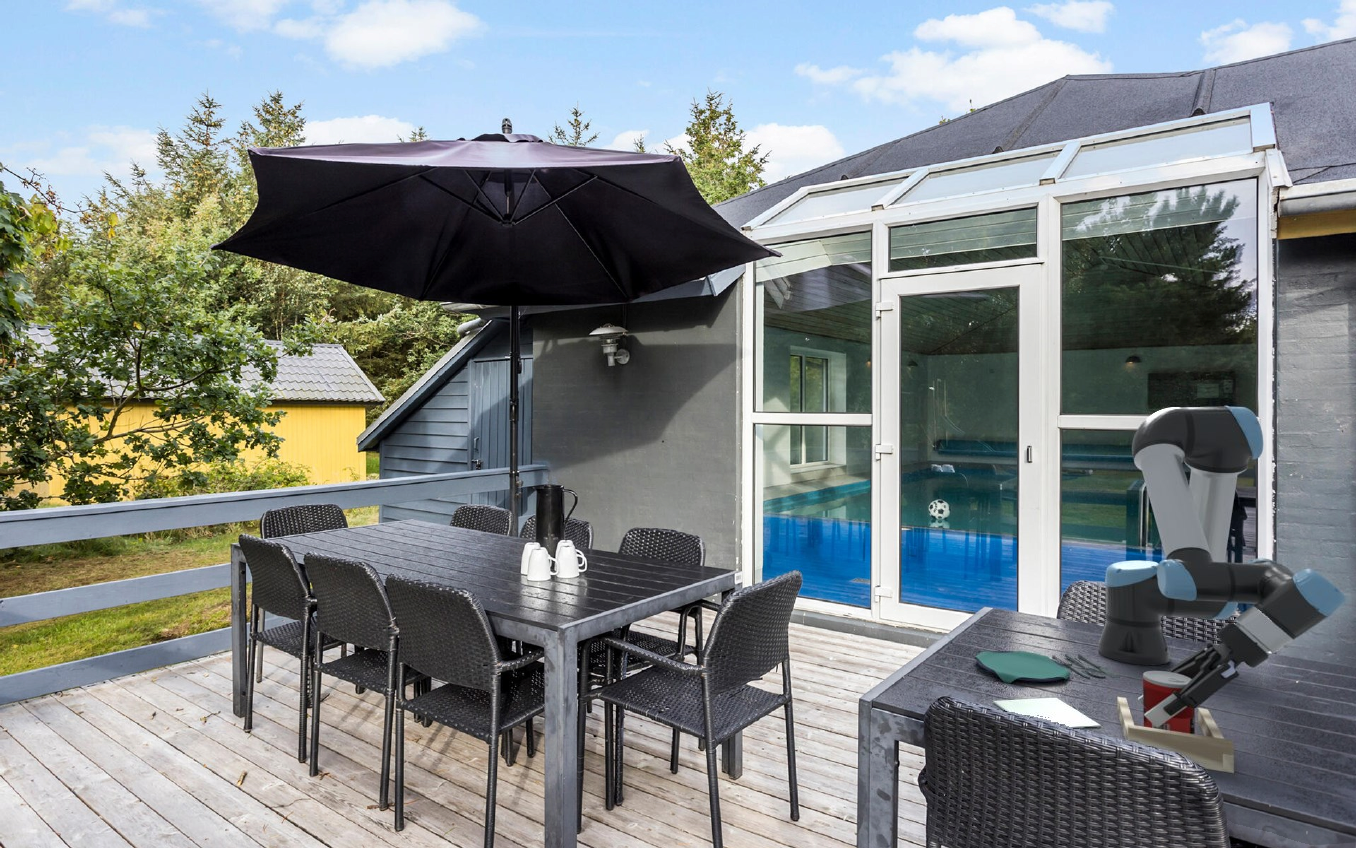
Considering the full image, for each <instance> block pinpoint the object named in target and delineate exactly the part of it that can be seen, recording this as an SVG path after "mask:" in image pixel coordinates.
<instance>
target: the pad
mask: <svg viewBox="0 0 1356 848" xmlns="http://www.w3.org/2000/svg"><path fill="white" fill-rule="evenodd" d="M993 704H994V705H995V706H998V708H1000V709H1001V710H1002V711H1004V710H1005V711H1009V712H1015V713H1018V714H1022V715H1030V716H1034V717H1038V718H1043V719H1047V720H1051V722H1058V723H1059V724H1065V725H1066V726H1069V727H1077V728H1079V729H1085V728H1084V727H1097V728H1101V724H1099V723H1098V722H1096V721H1094V720H1093V719H1091V718H1090V717H1088V716H1087V715H1084V713H1081V712H1080V711H1079V710H1077V709H1075V708H1074V707H1072V706H1070V705H1069V704H1068V703H1065V701H1063V700H1060V699H1059V698H1057V697H1045V698H1044V697H1043V698H1042V697H1041V698H1025V699H1021V698H1020V699H1004V700H1003V699H1002V700H993ZM1005 711H1004V712H1005ZM1037 715H1039V716H1037ZM1040 716H1043V717H1040ZM1045 717H1046V718H1045ZM1048 717H1049V718H1048Z"/></svg>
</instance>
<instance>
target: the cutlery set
mask: <svg viewBox="0 0 1356 848" xmlns="http://www.w3.org/2000/svg"><path fill="white" fill-rule="evenodd" d="M1064 657H1065V658H1067V659H1069V660H1071V661H1072V662H1074V663H1076V664H1077V665H1079V666H1081V667H1082V668H1084V670H1085V671H1084V672H1086V673H1087V674H1086V673H1084V672H1083V671H1081V670H1080V669H1078V668H1076V667H1074V666H1073V663H1070V662H1067V661H1065V660H1063V659H1060V658H1058V657H1057V656H1056V655H1052V659H1051V658H1050V657H1049V656H1047V655H1044V654H1040V653H1035V652H1030V651H1024V650H1016V651H1015V650H1013V651H1011V650H994V651H991V650H990V651H981V652H980V653H979V654H978V653H977V655H976V656H974V659H975V661H976V663H977V664H978V666H979V667H980V668H982V669H983V670H985V671H988V672H989V673H992V674H995V675H997V676H998V677H999V678H1000V680H1002V681H1003V682H1004V683H1008V684H1011V683H1012V682H1014V681H1015V680H1019V681H1025V682H1040V683H1041V682H1045V683H1046V682H1055V681H1059V680H1062V681H1066V680H1067V679H1068V678H1070V676H1071V675H1072V672H1071V671H1070V670H1069V669H1071V670H1072V671H1074V672H1075V673H1076V674H1078V675H1080V676H1082V677H1084V678H1087V679H1091V676H1093V677H1097V678H1105V677H1106V675H1107V676H1109V677H1111V678H1113V679H1115V678H1118V679H1119V678H1120V676H1118V675H1117V674H1115V673H1114V672H1112V671H1111V670H1110V669H1109V668H1108V667H1105V666H1104V665H1100V664H1097V663H1095V662H1093V661H1092V660H1090V659H1089V658H1088V657H1086V655H1083V654H1082V653H1078V654H1077V657H1078V658H1079V659H1081V660H1083V661H1084V662H1086V663H1087V664H1089V665H1091V666H1093V667H1096V668H1098V669H1095V668H1092V667H1087V666H1086V665H1084V664H1083V663H1082V662H1080V661H1079V660H1078V659H1076V658H1075V657H1074V656H1071V655H1070V654H1069V653H1064ZM1054 659H1056V660H1057V661H1056V660H1054ZM1059 661H1060V662H1059ZM1062 663H1063V664H1062ZM1066 666H1067V667H1066ZM1091 672H1095V673H1097V674H1099V675H1097V674H1094V673H1091ZM1089 675H1090V676H1089ZM1100 675H1101V676H1100Z"/></svg>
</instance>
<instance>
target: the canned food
mask: <svg viewBox="0 0 1356 848" xmlns="http://www.w3.org/2000/svg"><path fill="white" fill-rule="evenodd" d="M1191 680H1192V679H1191V678H1189V677H1187V676H1184V675H1181V674H1177V673H1172V672H1167V671H1164V670H1147V671H1145V672H1143V675H1142V695H1143V704H1142V708H1143V727H1149V728H1155V729H1162V730H1169V731H1175V732H1182V733H1188V734H1195V735H1196V728H1195V723H1196V722H1195V721H1196V719H1195V715H1196V712H1195V711H1196V710H1195V709H1196V708H1195V709H1192V708H1191V707H1186V708H1185V709H1183V710H1182V711H1180V712H1179V713H1177V714H1176V715H1175V716H1173V717H1172V718H1170V719H1169V720H1167V721H1166V722H1165V723H1163V724H1162V725H1160V726H1159V727H1156V726H1155V725H1154V724H1153V723H1152V722H1151V721H1150V720H1148V719H1147V718H1146V717H1145V715H1144V714H1145V713H1146V712H1148V711H1149V710H1151V709H1152V708H1153V707H1155V706H1156V705H1158V704H1159V703H1160V702H1162V701H1163V700H1165V699H1166V698H1167V697H1169V696H1170V695H1172V694H1173V693H1172V692H1173V691H1177V692H1179V691H1180V690H1181V689H1183V688H1184V687H1185V686H1186V685H1187V684H1188V683H1189V682H1190V681H1191Z"/></svg>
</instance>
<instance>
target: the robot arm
mask: <svg viewBox="0 0 1356 848" xmlns="http://www.w3.org/2000/svg"><path fill="white" fill-rule="evenodd" d="M1263 450H1264V435H1263V430H1262V426H1261V424H1260V421H1259V419H1258V417H1257V415H1255V413H1254V412H1253V411H1252V410H1251V409H1249V408H1247V407H1244V406H1228V405H1224V406H1200V407H1198V406H1197V407H1195V406H1194V407H1193V406H1192V407H1180V406H1179V407H1174V406H1173V407H1167V408H1163V409H1161V410H1158V411H1156V412H1154V413H1152V414H1151V415H1149V416H1148V417H1147V418H1146V419H1145V420H1143V422H1142V423H1141V424H1140V425H1139V427H1138V429H1137V430H1136V432H1135V433H1134V436H1133V439H1132V444H1131V454H1132V458H1133V462H1134V465H1135V466H1136V467H1137V469H1139V470H1140V471H1141V472H1142V475H1143V479H1144V483H1145V487H1146V490H1147V494H1148V497H1149V500H1150V501H1149V502H1150V504H1151V508H1152V512H1153V515H1154V519H1155V523H1156V526H1157V530H1158V533H1159V539H1160V542H1161V545H1162V548H1163V552H1164V556H1165V559H1163V560H1161V561H1159V563H1158V562H1156V561H1152V560H1124V561H1118V562H1114V563H1112V564H1109V566H1107V568H1106V571H1105V579H1104V586H1105V624H1104V626H1103V629H1102V631H1101V636H1100V639H1099V640H1098V646H1097V647H1098V653H1099V654H1101V656H1103V657H1106V658H1109V659H1111V660H1115V661H1118V662H1120V663H1121V662H1122V663H1127V664H1133V665H1140V664H1143V665H1142V666H1160V665H1161V664H1162V665H1166V664H1169V662H1170V661H1171V659H1170V658H1171V655H1170V654H1171V653H1170V649H1169V648H1168V644H1167V641H1166V639H1165V636H1164V633H1163V631H1162V626H1161V625H1162V623H1161V622H1162V617H1175V618H1186V619H1187V618H1188V619H1190V618H1191V619H1203V620H1206V621H1209V620H1225V619H1228V618H1230V617H1232V616H1233V614H1234V613H1235V612H1236V610H1237V608H1238V605H1239V604H1250V605H1251V604H1252V606H1250V607H1249V608H1247V610H1245V611H1243V612H1242V613H1241V614H1239V615H1238V616H1237V617H1235V619H1234V620H1235V623H1234V622H1229V623H1228V624H1226V625H1225V626H1224V627H1222V628H1221V629H1219V630H1218V631H1216V637H1217V638H1218V639H1219V640H1220V641H1221V643H1219V644H1217V645H1214V644H1213V643H1212V642H1208V643H1206V644H1205V645H1204V646H1203V647H1201V648H1200V649H1199V650H1197V651H1196V652H1194V653H1193V654H1191V655H1189V656H1188V657H1186V658H1185V659H1184V660H1182V661H1180V662H1179V663H1177V664H1176V665H1174V666H1173V667H1171V668H1169V669H1168V670H1167V671H1166V672H1172V673H1177V674H1181V675H1184V676H1187V677H1189V678H1191V679H1192V680H1191V681H1190V682H1189V683H1188V684H1187V685H1186V686H1185V687H1184V688H1183V689H1181V690H1180V691H1179V692H1177V691H1173V692H1172V693H1173V694H1172V695H1170V696H1169V697H1167V698H1166V699H1165V700H1163V701H1162V702H1160V703H1159V704H1158V705H1156V706H1155V707H1153V708H1152V709H1151V710H1149V711H1148V712H1146V713H1145V714H1144V715H1145V717H1146V718H1147V719H1148V720H1150V721H1151V722H1152V723H1153V724H1154V725H1155V726H1156V727H1159V726H1160V725H1162V724H1163V723H1165V722H1166V721H1167V720H1169V719H1170V718H1172V717H1173V716H1175V715H1176V714H1177V713H1179V712H1180V711H1182V710H1183V709H1185V708H1186V707H1191V708H1192V709H1198V708H1199V706H1201V704H1203V703H1205V701H1206V700H1208V699H1210V697H1211V696H1213V695H1214V694H1216V693H1217V692H1218V691H1219V690H1221V689H1222V688H1223V687H1224V686H1225V685H1227V684H1228V683H1230V682H1231V681H1233V680H1234V679H1236V678H1238V677H1239V676H1240V673H1239V672H1238V671H1236V670H1237V667H1238V666H1240V664H1242V663H1245V664H1246V665H1247V666H1248V667H1250V668H1256V667H1258V665H1260V664H1262V663H1263V662H1265V661H1267V660H1268V659H1269V656H1270V654H1269V653H1270V652H1271V653H1273V654H1275V653H1277V652H1278V651H1279V650H1281V649H1282V648H1285V649H1288V648H1289V647H1290V643H1292V642H1293V640H1296V638H1299V637H1300V636H1301V635H1303V634H1305V633H1307V632H1308V631H1309V630H1311V629H1312V628H1314V627H1316V626H1317V625H1318V624H1319V623H1321V622H1322V621H1324V620H1326V619H1327V618H1329V617H1331V616H1332V615H1334V613H1335V612H1336V611H1337V610H1338V609H1340V608H1341V607H1342V606H1343V605H1344V604H1346V602H1347V597H1346V595H1345V594H1344V592H1342V591H1341V590H1340V589H1339V588H1338V587H1337V586H1335V584H1333V583H1332V582H1330V581H1329V580H1328V579H1327V578H1325V577H1324V576H1323V575H1322V574H1320V573H1319V572H1317V571H1316V570H1314V569H1312V568H1306V569H1305V568H1304V569H1302V570H1301V571H1299V572H1297V573H1295V572H1293V571H1291V570H1290V568H1288V567H1287V566H1285V565H1283V564H1282V563H1278V562H1277V561H1276V560H1275V561H1274V560H1272V559H1269V558H1262V557H1260V558H1254V559H1251V560H1249V561H1247V562H1225V560H1226V555H1227V554H1226V553H1227V548H1228V540H1229V535H1230V528H1231V522H1232V521H1231V520H1232V513H1233V508H1234V500H1235V494H1236V486H1237V482H1238V481H1237V480H1238V475H1240V474H1241V473H1243V472H1245V471H1247V469H1248V465H1249V460H1256V459H1259V458H1260V457H1261V455H1262V453H1263ZM1183 463H1185V465H1186V466H1187V467H1188V468H1189V469H1190V476H1189V477H1190V478H1189V482H1188V478H1187V475H1186V472H1185V469H1184V467H1183V466H1184V465H1183ZM1253 604H1254V605H1253ZM1137 700H1138V701H1139V702H1140V703H1141V704H1142V705H1143V694H1142V695H1140V696H1138V698H1137ZM1144 715H1143V716H1144Z"/></svg>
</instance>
